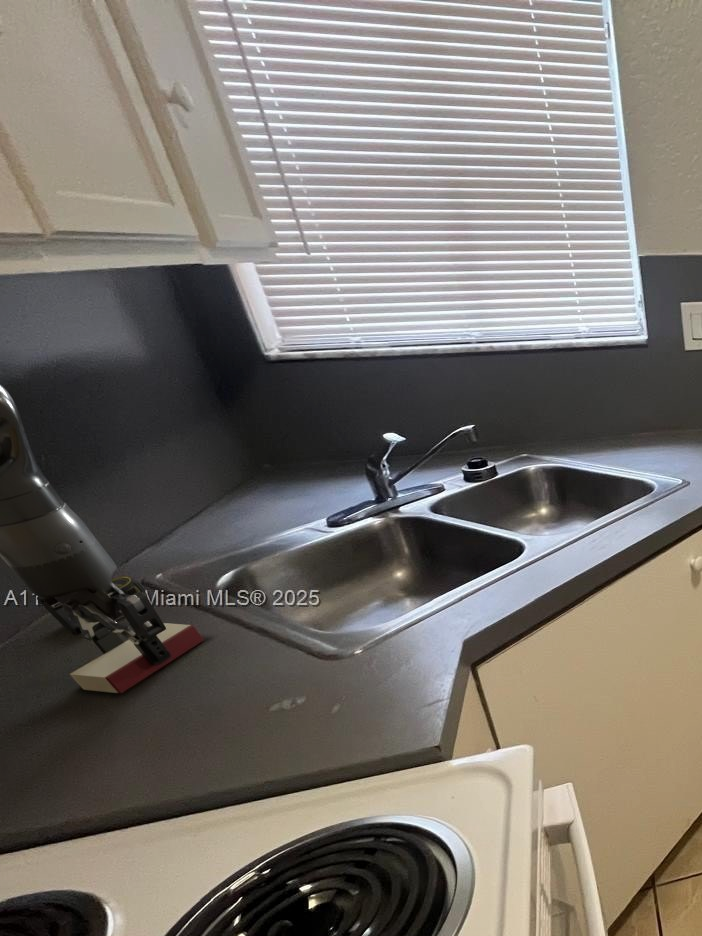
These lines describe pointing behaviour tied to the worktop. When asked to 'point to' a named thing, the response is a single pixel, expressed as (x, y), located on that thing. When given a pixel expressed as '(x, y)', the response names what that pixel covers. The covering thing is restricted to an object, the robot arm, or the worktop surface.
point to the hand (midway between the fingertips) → (141, 659)
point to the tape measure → (128, 585)
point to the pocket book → (133, 661)
